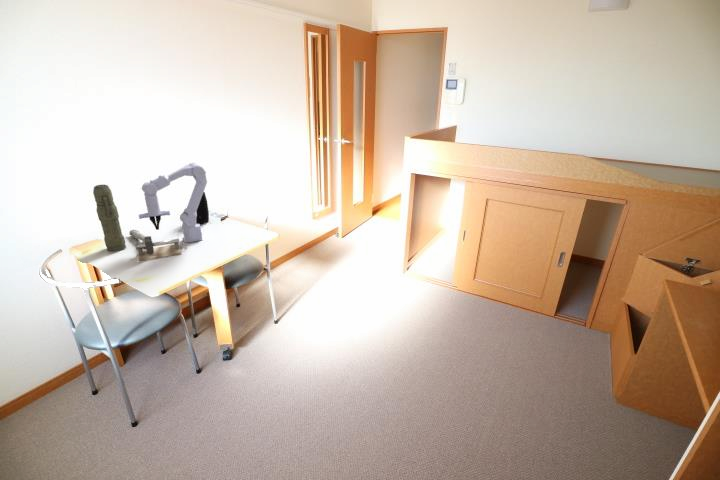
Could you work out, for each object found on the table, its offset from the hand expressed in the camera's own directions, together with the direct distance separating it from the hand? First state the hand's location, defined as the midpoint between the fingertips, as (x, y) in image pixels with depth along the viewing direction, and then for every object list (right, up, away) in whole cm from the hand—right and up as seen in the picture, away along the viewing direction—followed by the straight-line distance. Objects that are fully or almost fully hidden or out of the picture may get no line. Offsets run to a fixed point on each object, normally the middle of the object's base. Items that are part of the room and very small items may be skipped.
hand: (157, 229), depth 198 cm
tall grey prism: (0, -12, -6) cm, 13 cm away
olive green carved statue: (-22, -11, 0) cm, 25 cm away
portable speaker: (+7, +6, +40) cm, 41 cm away
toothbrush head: (-14, -7, +9) cm, 18 cm away
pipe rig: (+3, -13, -3) cm, 14 cm away
